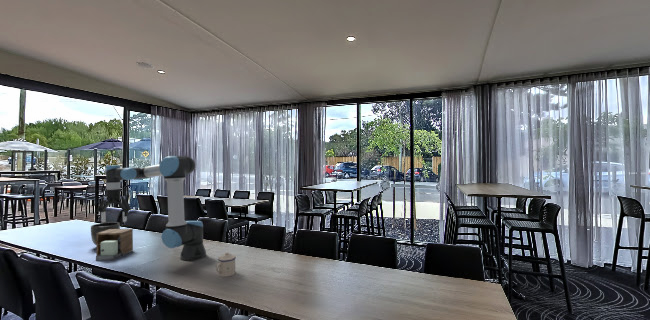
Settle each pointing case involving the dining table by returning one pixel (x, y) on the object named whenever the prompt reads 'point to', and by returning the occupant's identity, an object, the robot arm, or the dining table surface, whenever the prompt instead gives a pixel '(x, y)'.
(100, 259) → the grey drawer
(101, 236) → the wood-grain box
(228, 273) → the teacup with lid
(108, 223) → the planter
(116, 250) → the pale green block
